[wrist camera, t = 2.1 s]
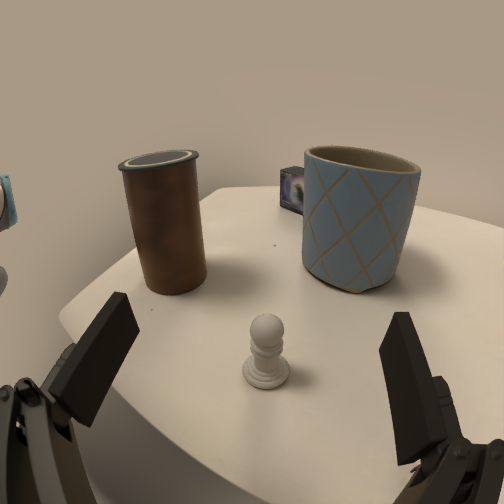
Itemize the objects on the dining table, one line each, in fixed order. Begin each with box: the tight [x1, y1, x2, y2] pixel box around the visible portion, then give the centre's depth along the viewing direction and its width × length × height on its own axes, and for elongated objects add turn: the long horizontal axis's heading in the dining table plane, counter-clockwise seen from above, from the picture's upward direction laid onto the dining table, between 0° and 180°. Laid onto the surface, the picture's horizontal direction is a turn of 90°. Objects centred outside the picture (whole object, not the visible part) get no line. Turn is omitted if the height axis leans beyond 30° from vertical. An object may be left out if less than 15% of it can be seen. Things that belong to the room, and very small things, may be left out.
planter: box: [302, 146, 421, 293], centre depth 44 cm, size 19×19×20 cm
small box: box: [280, 166, 304, 215], centre depth 69 cm, size 11×6×10 cm, turn 41°
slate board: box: [118, 150, 199, 172], centre depth 37 cm, size 12×12×1 cm
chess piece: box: [243, 314, 289, 389], centre depth 28 cm, size 5×5×9 cm
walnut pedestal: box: [122, 159, 207, 295], centre depth 42 cm, size 11×11×20 cm
